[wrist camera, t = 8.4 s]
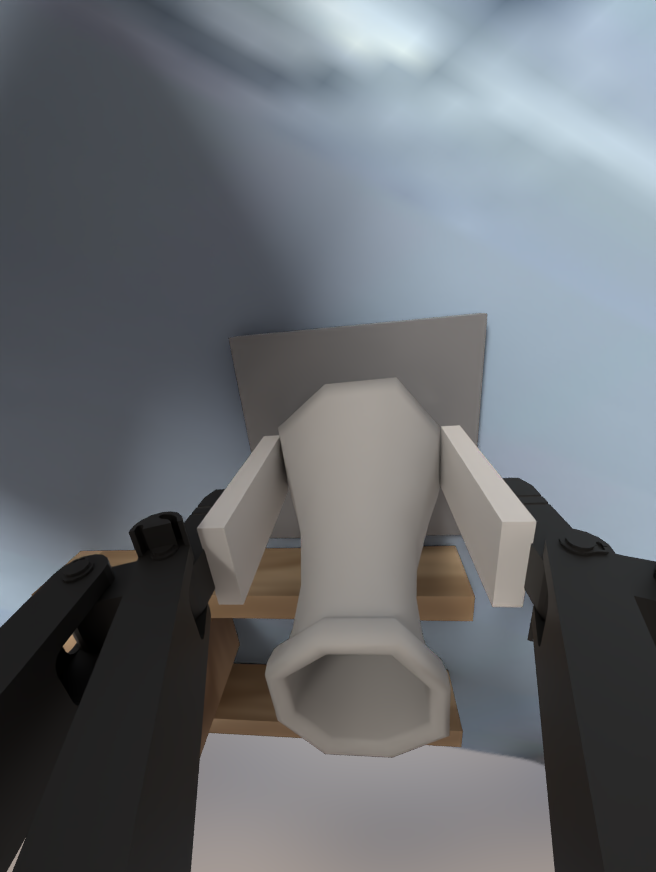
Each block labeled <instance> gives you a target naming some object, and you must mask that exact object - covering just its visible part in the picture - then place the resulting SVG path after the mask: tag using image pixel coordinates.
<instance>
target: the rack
mask: <svg viewBox="0 0 656 872" xmlns="http://www.w3.org/2000/svg"><path fill="white" fill-rule="evenodd" d="M93 554H103V555H104V556H106V557H107V558H108V560H109V562H110V565H111V567H113V566H117V565H121V564H125V563H130V562H134V561H137V559H138V556H137V553H136V550H118V551H80V552H79V553H78V554H77V555H76V556H75V557H73V558H72V559H71V560H70V561H69V562H68V563H67V564H69V563H70V562H72V561H73V560H75V559H79V558H80V557H83V556H88V555H93ZM67 564H66V565H67ZM64 566H65V565H64ZM300 588H301V548H265V551H264V553H263V556H262V558H261V561H260V563H259V566H258V569H257V571H256V574H255V576H254V579H253V581H252V584H251V587H250V589H249V592H248V594H247V597H246V599H245V602H244V604H243V605H219V603H218V600H217V597H216V593H215V590H214V592H213V594H212V596H211V598H210V600H209V602H208V604H209V607H210V611H211V618H265V619H295V614H296V609H297V603H298V598H299V593H300ZM37 590H38V589H37ZM37 590H36V591H37ZM36 591H35V592H36ZM35 592H34V593H35ZM34 593H33V594H34ZM33 594H32V595H33ZM416 599H417V605H418V611H419V617H420V620H426V621H473V612H474V601H475V595H474V593H473V590H472V588H471V585H470V583H469V580H468V577H467V575H466V572H465V570H464V567H463V565H462V562H461V559H460V557H459V554H458V552H457V549H456V546H423V548H422V552H421V556H420V560H419V564H418V568H417V596H416ZM76 643H77V642H76V640H75V638H74V637H73V635H71V636H70V638H69V639H68V640H67V642H66V643H65V644H64V646H63V647H64V649H65V651H66V652H67V653H68V652H69V651H70V650H71V649H72V648H73V647H74V646H75V644H76ZM266 666H267V665H263V664H233V665H232V668H231V671H230V674H229V677H228V680H227V682H226V685H225V688H224V691H223V694H222V697H221V699H220V702H219V705H218V708H217V711H216V714H215V716H214V719H213V722H212V725H211V728H210V731H209V733H221V734H240V735H258V736H275V737H293V738H302V737H300V736H299V735H298V734H296V733H295V732H293V731H292V730H290V729H289V728H288V727H286V726H285V725H283V724H282V723H281V722H279V721H278V720H277V716H276V713H275V709H274V706H273V702H272V699H271V695H270V692H269V688H268V685H267V681H266V678H265V671H266ZM446 671H447V673H448V676H449V672H448V670H446ZM449 682H450V688H451V697H450V732H449V736H448V737H445V738H442V739H440V740H437V741H435V742H432V743H429V744H427V745H433V746H451V747H461V744H462V733H463V731H462V726H461V722H460V718H459V714H458V710H457V705H456V701H455V697H454V693H453V688H452V684H451V680H450V676H449Z"/></svg>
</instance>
